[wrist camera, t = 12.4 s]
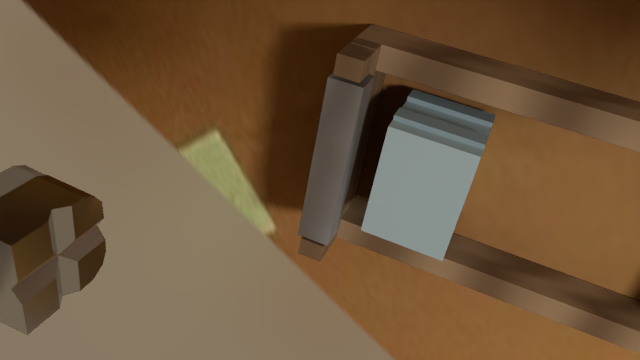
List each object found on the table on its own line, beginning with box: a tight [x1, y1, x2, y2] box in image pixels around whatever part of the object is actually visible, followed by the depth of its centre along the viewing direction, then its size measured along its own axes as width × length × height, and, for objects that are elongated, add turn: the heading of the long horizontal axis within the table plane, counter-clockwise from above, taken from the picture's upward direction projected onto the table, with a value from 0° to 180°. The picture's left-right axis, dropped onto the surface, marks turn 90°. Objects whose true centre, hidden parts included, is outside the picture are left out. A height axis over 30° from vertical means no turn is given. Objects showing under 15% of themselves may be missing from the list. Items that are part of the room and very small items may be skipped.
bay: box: [298, 24, 640, 353], centre depth 33 cm, size 24×14×6 cm, turn 80°
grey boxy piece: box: [361, 90, 496, 261], centre depth 35 cm, size 5×8×6 cm, turn 169°
